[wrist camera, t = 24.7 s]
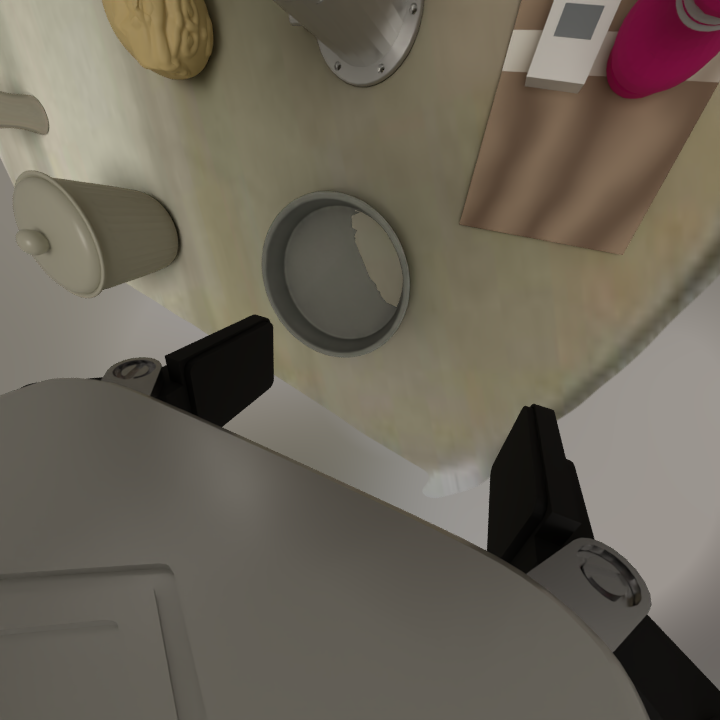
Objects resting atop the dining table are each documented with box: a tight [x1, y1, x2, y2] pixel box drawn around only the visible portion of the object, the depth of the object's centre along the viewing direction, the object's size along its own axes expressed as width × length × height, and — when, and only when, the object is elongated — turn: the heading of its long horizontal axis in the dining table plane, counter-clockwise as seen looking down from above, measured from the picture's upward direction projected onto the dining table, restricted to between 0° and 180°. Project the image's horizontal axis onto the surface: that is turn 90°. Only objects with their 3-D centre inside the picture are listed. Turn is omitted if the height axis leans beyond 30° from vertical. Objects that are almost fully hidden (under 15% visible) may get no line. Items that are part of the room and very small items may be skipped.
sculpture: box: [102, 0, 213, 80], centre depth 38 cm, size 12×12×11 cm
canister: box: [13, 171, 179, 298], centre depth 52 cm, size 18×18×21 cm
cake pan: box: [262, 191, 410, 357], centre depth 48 cm, size 25×25×4 cm
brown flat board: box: [459, 0, 720, 255], centre depth 31 cm, size 18×22×2 cm
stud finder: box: [525, 0, 621, 94], centre depth 28 cm, size 5×6×3 cm
